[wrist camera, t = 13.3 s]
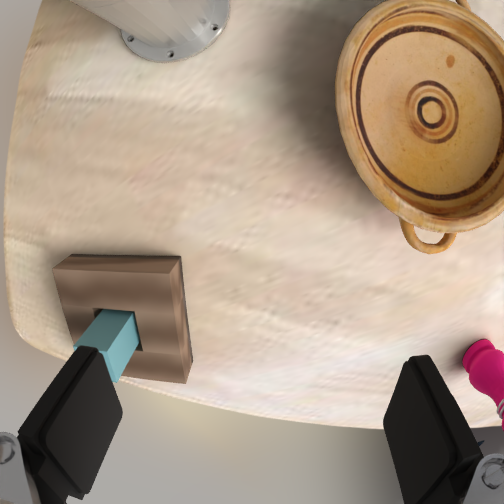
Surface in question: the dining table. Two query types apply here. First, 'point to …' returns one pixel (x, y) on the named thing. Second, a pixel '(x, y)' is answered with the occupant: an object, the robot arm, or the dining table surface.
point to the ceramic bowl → (425, 114)
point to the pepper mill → (487, 372)
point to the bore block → (132, 307)
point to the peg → (113, 338)
